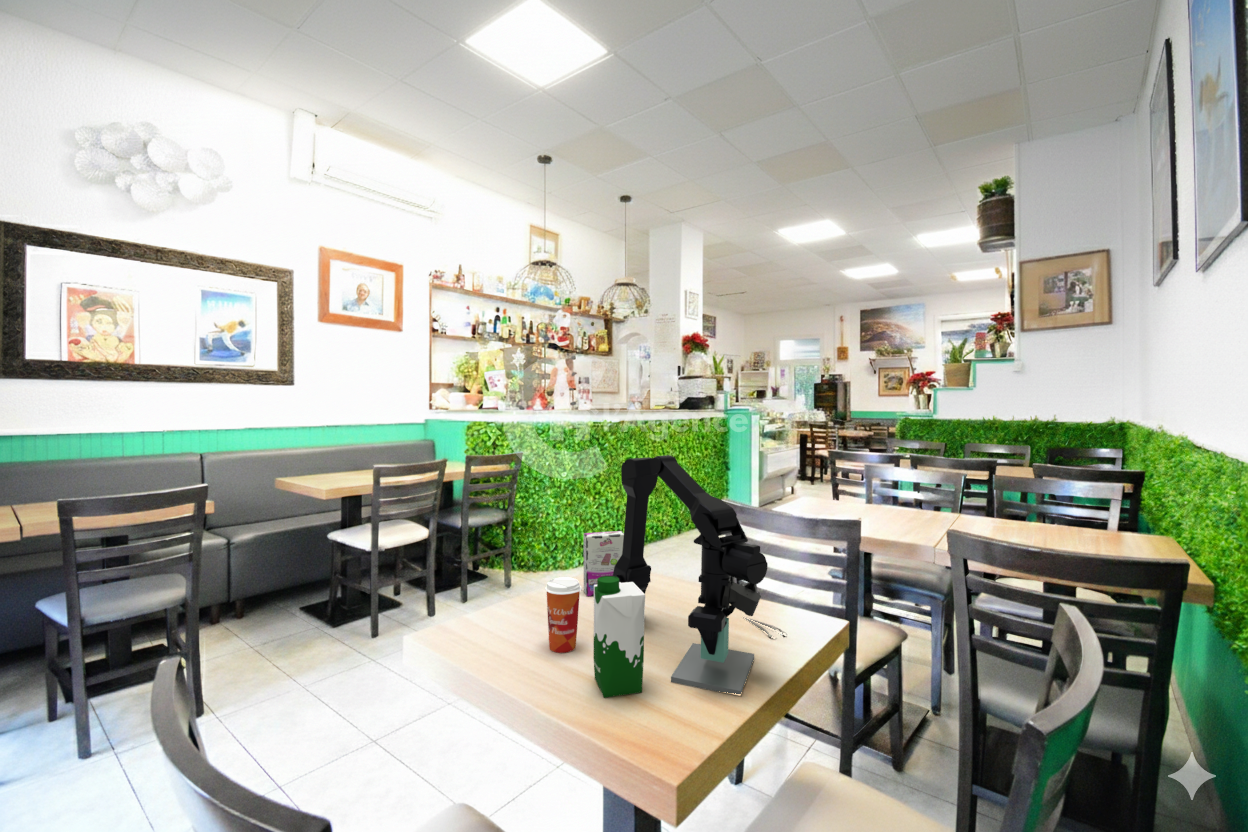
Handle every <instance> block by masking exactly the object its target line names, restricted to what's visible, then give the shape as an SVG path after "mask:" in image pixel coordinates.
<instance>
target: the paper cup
mask: <svg viewBox="0 0 1248 832" xmlns="http://www.w3.org/2000/svg"><path fill="white" fill-rule="evenodd" d="M544 590H545V591H546V604H547V606H546V607H547V608H546V609H547V626H548V627H547V630H548V644H549V645H548V646H549V650H550V651H551V652H554V653H557V654H565V653H570V652H573V651H574V650H575V649H576V645H577V635H578V621H579V610H580V609H579V608H580V607H579V605H580V592H581V591H582V585H581V584H580V582H579V580H578V579H577V578H573V577H570V576H569V577H567V576H566V577H565V576H564V577H560V576H559V577H555V578H554V577H553V578H552V579H550V580H549V581H547V583H546V586H545V588H544Z"/></svg>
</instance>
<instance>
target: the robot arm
mask: <svg viewBox="0 0 1248 832" xmlns="http://www.w3.org/2000/svg"><path fill="white" fill-rule="evenodd" d="M620 469H621V470H620V473H621V474H620V476H621V477H620V478H621V479H620V480H621V486H622V487H623V490H624V492H625V494H626V503H625V504H626V505H625V517H624V518H625V519H624V526H623V527H624V529H623V533H624V539H623V550H622V555H621V557H620V559H619V560H618V562H617V563H616V565H615V567H614V572H613V576H615V577H617V578H619V582H621V583H625V582H634V583H635V585H636V586H637V587H638V588H639V589H640V590H641V591H642V592H643V593H644V594H645V595H646V591H647V588H648V587H649V583H651V582H652V581H651V572H652V567H651V565H648V563H647V561H646V560H645V558H644V552H645V551H644V550H645V541H646V529H647V517H648V508H649V506H648V505H649V497H650V496H651V494H652V493H653V492H654V489H655V488H656V487H657V482H658V478H660V479H661V480H662V482H664V483H665V484H666V486H667V487H668V488H669V489H670V490H671V491H672V492H673V494H675V496H677V498H678V499H679V500H680V501H681V502H682V504H684V505H685V507H686V508H687V509H688V511H689V512H690V519H691V520H690V521H692V523H693V525H694V526H695V527H696V529H697V531H698V532H699V536H697V537H695V538H694V539H693V543H694V544H696V545H699V546H701V554H700V555H701V556H700V557H701V560H700V563H701V565H700V567H701V568H700V571H701V573H700V574H699V576H698V583H700V594H699V596H698V598H697V603H698V604H702V605H704V606H700V605H697V606H696V607H694V608H693V609H692V611H691V612H690V613H689V614H688V616H687V617H688V618H687V621H688V622H687V626H688V628H690V629H697V630H698V632H699V635H700V638H701V637H702V639H703V642H704V644H705V646H706V648H707V651H708V653H709V654H711V655H714V654H715V650H716V646H717V640H718V635H719V632H722V630H723V628H724V627H725V626H726V624H727V622H725V617H726V618H729V616H731V614H732V613H733V612H734V611H735V609H737V610H738V611H740V612H743V613H744V615H746V616H748V617H753V616H754V614H755V612H756V610H757V608H758V604H759V603H760V600H761V597H762V596H761V592H759V591H758V586H757V585H758V584H760V583H761V582H763V580H764V578H766V575H767V571H768V567H769V565H768V563H769V562H767V558H766V556H765V555H764V553H762V552H761V546H760V545H757V544H751V543H748V542H749V539H748V537H747V535H746V532H745V531H744V529H743V527H742V525H741V523H740V521H739V519H738V516H737V512H736V511H735V509H734V508H733V507H732V506H730V505H729V504H728V503H726V502H725V501H724V500H723V499H721V498H717V497H715V496H713V495H710V494H709V493H708V492H707V491H706V490H704V489H703V487H702V486H701V485H700V484H699V483H698V482H697V481H696V480H695V479H694V478H693V477H692V476H691V475H690V474H689V473H688V472H687V471H686V470H685V469H684V468H683V467H682V466H681V465H680V464H679V463H678V460H677V459H676V457H674V456H672V455H671V454H669V455H656V456H654V457H639V458H637V457H635V458H627V459H625V461H624V462H622V464H621V468H620ZM730 534H731V535H730ZM725 535H726V536H725ZM735 579H739V580H742V581H744V582H745V583H744V584H743V583H740V584H739V583H737V582H735Z"/></svg>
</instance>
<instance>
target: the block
mask: <svg viewBox="0 0 1248 832" xmlns="http://www.w3.org/2000/svg"><path fill="white" fill-rule="evenodd" d="M725 622H727V624H726V626H725V627H724V628H723V630H722V632H719V635H718V640H717V646H716V650H715V654H714V655H711V654H709V653H708V651H707V648H706V646H705V644H704V642H703V639H702V637H701V636H700V644H701V659H707V660H712V661H717V662H722V663H724V661H725V659H726V657H727V655H728V649H729V642H730V641H729V637H730V636H729V633H730V632H729V630H730V629H729V628H730V626H729V625H730V618H729V617H727V618H726V617H725Z"/></svg>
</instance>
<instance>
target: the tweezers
mask: <svg viewBox="0 0 1248 832" xmlns="http://www.w3.org/2000/svg"><path fill="white" fill-rule="evenodd" d="M742 617H743V616H742ZM745 617H746V618H745ZM744 618H745V619H746V620H745V619H744ZM747 618H749V619H750V620H749V619H747ZM742 619H744V620H745V621H747V620H748V621H749V622H748V621H747V622H748V623H750V622H751V623H752V625H753V624H754V625H755V626H757V627H758V628H760V629H761V630H763V631H765V632H766V633H767V634H768V636H769V637H772V636H773V634H771V633H770V631H768V630H767V628H765V627H764V626H762V625H765V626H768V627H770V628H772V629H774V630H777V631H780V632H782V634H783V633H786V634H787V632H785V631H784V630H782V629H781V628H778V627H777V626H774V625H773V624H769V623H765V622H763V621H759V620H757V619H753V618H750V617H747V616H744V617H743V618H742ZM751 620H753V621H755V622H758V623H760V624H762V625H760V624H758V623H755V622H753V621H751ZM751 623H750V624H751ZM754 625H753V626H754ZM757 627H756V628H757ZM758 628H757V629H758ZM760 629H759V630H760ZM761 630H760V631H761ZM768 636H767V637H768ZM769 637H768V638H769Z"/></svg>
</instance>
